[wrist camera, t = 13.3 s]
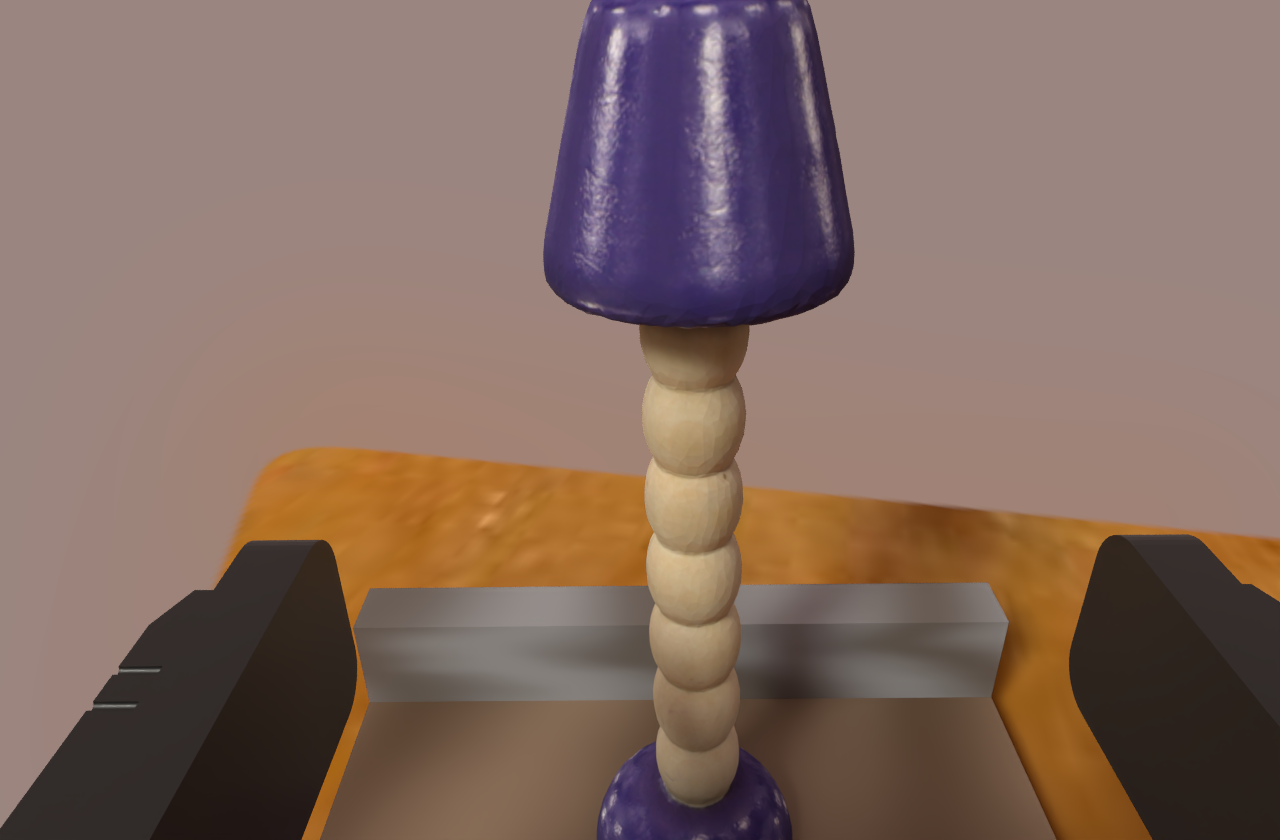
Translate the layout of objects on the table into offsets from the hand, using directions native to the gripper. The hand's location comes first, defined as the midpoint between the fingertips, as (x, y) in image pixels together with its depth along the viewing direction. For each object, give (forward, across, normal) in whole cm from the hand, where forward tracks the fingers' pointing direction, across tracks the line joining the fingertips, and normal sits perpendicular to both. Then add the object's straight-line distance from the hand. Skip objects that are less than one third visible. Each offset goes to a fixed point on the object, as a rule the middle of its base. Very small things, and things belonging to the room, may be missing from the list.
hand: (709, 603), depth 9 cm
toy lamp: (+6, 0, +11) cm, 13 cm away
